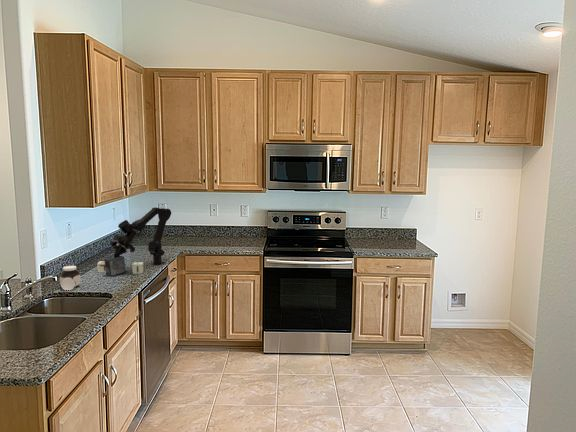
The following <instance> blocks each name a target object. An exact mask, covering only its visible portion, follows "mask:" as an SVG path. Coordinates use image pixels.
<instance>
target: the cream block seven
mask: <svg viewBox="0 0 576 432" xmlns="http://www.w3.org/2000/svg"><path fill="white" fill-rule="evenodd" d="M96 267H97V273H106V269H105V261H104V260H102V261H101V260H100V261H98V262H97V266H96Z"/></svg>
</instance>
